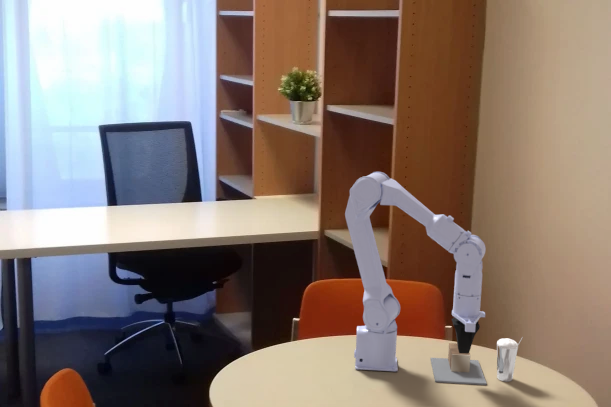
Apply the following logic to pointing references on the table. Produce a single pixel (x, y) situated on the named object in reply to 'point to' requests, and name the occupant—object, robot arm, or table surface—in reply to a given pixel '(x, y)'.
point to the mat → (457, 373)
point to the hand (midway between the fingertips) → (463, 352)
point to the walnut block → (458, 359)
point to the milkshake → (506, 358)
